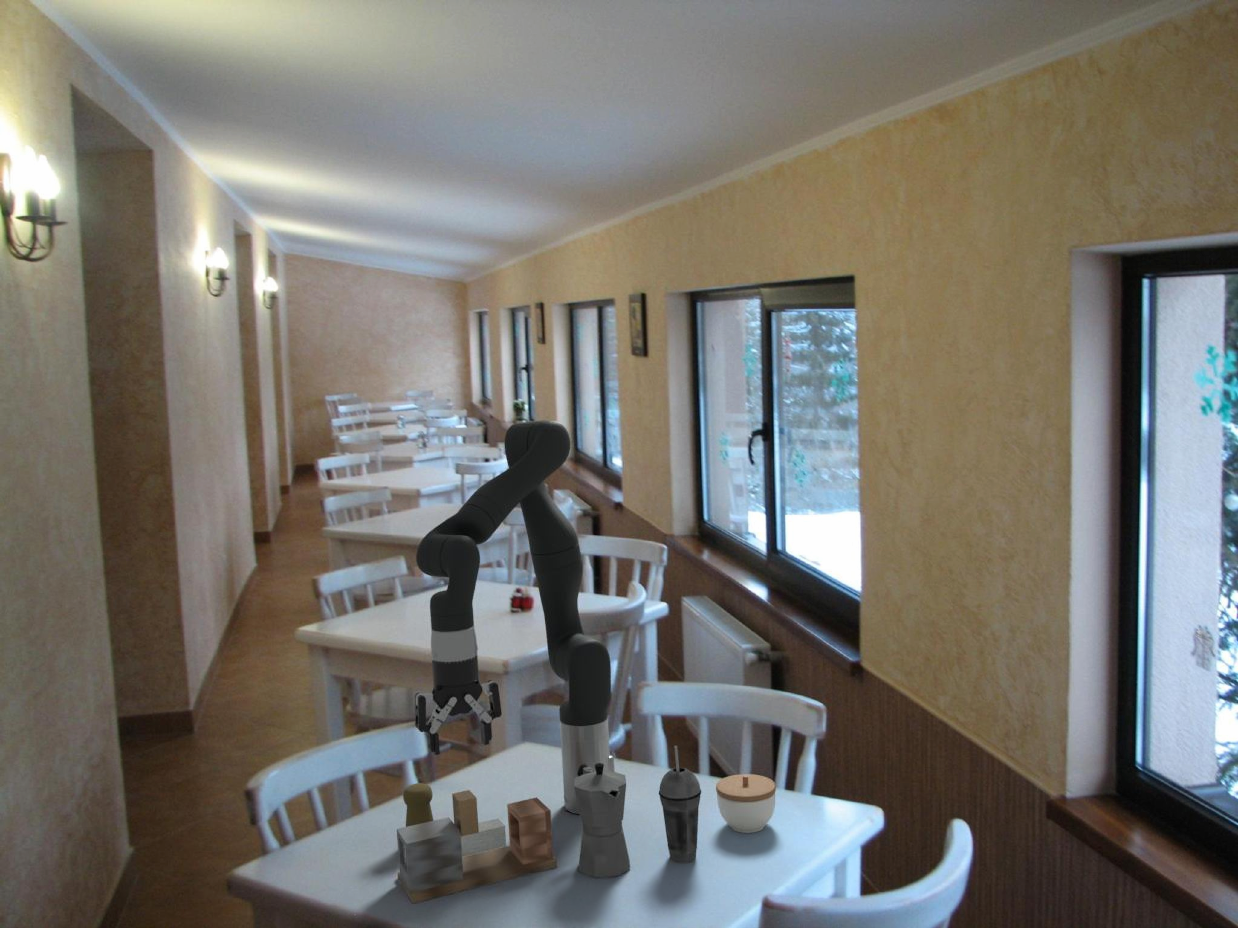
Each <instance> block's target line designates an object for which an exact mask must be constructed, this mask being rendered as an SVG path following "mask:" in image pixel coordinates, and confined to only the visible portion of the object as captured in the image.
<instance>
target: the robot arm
mask: <svg viewBox="0 0 1238 928" xmlns="http://www.w3.org/2000/svg"><path fill="white" fill-rule="evenodd" d="M570 451H571V437H570V434H569V432H568V429H567V427H566V426H564V424H563V423H561V422H559V421H556V420H552V419H549V420H548V419H543V420H533V421H523V422H516V423H513V424H511V425H510V426H509V427H508V429H507V430H506V432H505V436H504V454H505V459H506V462H507V466H508V468H507V469H506V470H504V471H503V472H501V473H499V474H497V475H496V476H494V477H493V478H491V479H490V480H488V481H487V482H485V483H484V484H483V485H481V486H480V487H479V488H478V489H476V490H475V491H474V492H473V493H472V494H471V496H470V497H469V498H468V499H467V500H466V502H465V503H464V504H463V505H462V506H461V507H460V508H459V510H458V511H456V513H455V514H453V515H451V516H450V517H448V518H447V519H445V520H444V521H442V522H441V523H440V524H438V525H437V526H435V527H434V528H432V529H431V530H430V531H428V533H427V534H425V536H424V537H423V538H422V539H421V541H420V542H419V545H418V547H417V549H416V550H417V551H416V555H415V559H416V561H415V562H416V565H417V567H418V569H419V570H420V571H421V572H422V574H424V575H427V576H431V577H435V578H436V577H437V578H448V584H447V587H446V589H445V590H440V591H438V592H435V593H434V594H432V595H431V597H430V600H429V613H430V628H431V631H430V632H431V635H430V650H431V652H430V654H431V666H432V681H433V688H432V691H431V692H429V693H421V692H416V693H415V694H414V727H415V728H416V729H417V730H418V731H419V732H421V733H426V734H427V746H428V749H429V751H430V752H431V753H433V755H435V756H438V755H440V753H441V750H440V749H441V748H440V739H439V738H440V736H439V732H438V730H439V728H440V727H441V725H442V723H444V722H445V720H446V719H447V718H448V716H451V717H455V716H457V715H460V714H464V715H466V714H469V713H470V712H471V711H472V710H473V712H475V713H476V714H477V716H478V717H479V718H480V719H481V720H479V728H480V741H481V743H482V744H483V745H484V746H487V745H489V744H490V741H492V738H493V733H492V729H493V728H492V721H493V720H494V719H496V718H500V717H502V714H503V713H502V706H501V705H502V703H501V697H500V689H499V688H500V687H499V684H498V683H497V682H495V681H494V680H492V679H489V680H488V681H487V682H484V683H480V676H479V675H480V674H479V659H478V657H479V656H478V649H479V648H478V643H477V642H478V641H477V635H476V630H475V621H474V608H473V607H474V606H473V602H474V596H475V591H476V585H477V582H478V581H477V580H478V576H479V570H480V565H481V555H480V550H479V547H478V545H482V544H484V543H486V542H487V541H488V540H489V539H490V538H491V537H492V536H493V535H494V534H495V532H496V531H497V529H498V528H499V527H500V526H501V524H502V523H503V522H504V521H505V519H507V517H508V516H509V515H510V513H511V512H512V511H514V509H515V508H516V507H517V506H518V505H519V504H520V505H519V506H520V509H521V513H522V516H523V521H524V522H523V523H524V525H525V530H526V534H527V540H528V546H529V551H530V556H531V560H532V561H531V562H532V566H533V570H534V574H535V578H536V583H537V587H538V593H539V597H540V603H541V607H542V611H543V617H544V618H543V619H544V624H545V634H546V635H545V636H546V643H547V644H546V646H547V647H546V648H547V654H548V660H549V664H550V668H551V670H552V671H553V673H554V674H555V675H556V676H557V677H558V678H560V679H561V680H563V681H566V682H567V683H568V699H567V700H566V701H564V702H562V703H561V704H560V706H559V712H558V713H559V729H560V745H561V747H560V749H561V764H562V779H563V780H562V781H563V783H562V784H563V799H564V800H563V801H564V802H563V803H564V809H565V810H566V811H568V812H570V813H573V814H576V815H580V813H579V808H578V803H577V798H576V793H575V788H574V778H576V777H578V774H577V773H578V770H579V767H580V766H581V765H582V764H586V765H587V766H588V767H591V768H592V769H594V772H596V770H595V765H594V764H597V763H602V764H604V767H603V771H613V772H616V771H615V769H616V768H615V758H614V756H612V755H611V753H610V736H609V735H610V734H609V717H608V709H609V708H610V705H611V701H612V700H611V699H612V665H611V664H612V663H611V658H610V653H609V650H608V648H607V646H606V645H605V644H604V643H602V642H601V641H599V640H598V639H595V638H592V637H589V636H586V635H585V633H584V630H583V626H582V621H581V617H580V614H579V607H578V601H579V600H578V599H579V593H580V590H581V589H580V588H581V584H582V579H583V571H584V564H583V558H582V553H581V548H580V544H579V538H578V535H577V532H576V530H575V527H573V525H572V523H571V522H570V520H569V519H568V518H567V517H566V515H565V514H564V513H563V512H562V510H561V509H560V507H559V506H558V505H557V504H556V502H555V501H554V500H553V499H552V497H551V495H550V494H549V491H548V488H547V487H546V483H545V480H546V479H547V478H549V477H550V476H551V475H552V474H554V473H555V472H556V471H557V470H558V469H560V468H561V467H562V466H563V465H564V463H565V462H566V461H567V459H568V457H569V455H570ZM483 691H484V694H485V695H486V696H488V702H489V710H488V711H486V710H485V709H484V708H483V707H482V706H481V705H480V704H479V702H478V700H479V698H480V696H482V694H483ZM432 701H433V702H434V703H435V705H436V706H435V708H434V709H433V711H432V713H431V717H430V718H429V720H428V721H427V708H428V707H429V706H430V702H432Z"/></svg>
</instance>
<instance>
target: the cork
mask: <svg viewBox="0 0 1238 928" xmlns="http://www.w3.org/2000/svg"><path fill="white" fill-rule="evenodd" d="M433 796H434V795H433V790H432V788H431V786H430V785H429V784H427V783H421V782H420V783H419V782H418V783H413V784H410V785H408V786H407V787H406V788H405V789H404V791H403V794H402V798H403V799H402V800H403V802H404V804H405V806H406V817H405V827H408V826H413V825H417V824H421V823H426V822H430V821H435V820H434V816H433V812H432V807H431V802H432V800H433Z"/></svg>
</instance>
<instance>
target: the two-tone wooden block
mask: <svg viewBox="0 0 1238 928" xmlns="http://www.w3.org/2000/svg"><path fill="white" fill-rule="evenodd" d="M451 795H452V809H453V810H452V812H453V823H454V824H455V825H456V827H457V828H458V829H459V830H460V834H461V849H462V857H465V856H469V855H473V854H477V853H481V852H485V851H489V850H493V849H498V848H502V847H506V846H507V838H506V837H507V836H506V825H505V824H504V823H503V822H502V821H501V820H500V819H499V818H493V819H490V820H484V821H480V822H479V818H478V817H479V816H478V814H479V813H478V801H477V799H478V798H477V797H476V795H475V794H473V792H472V791H471V790H470V789H468V790H462V791H458V792H454V793H452V794H451ZM403 855H404V862H405V864H406V865H407V862H406V848H405V846H404V845H403Z"/></svg>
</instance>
